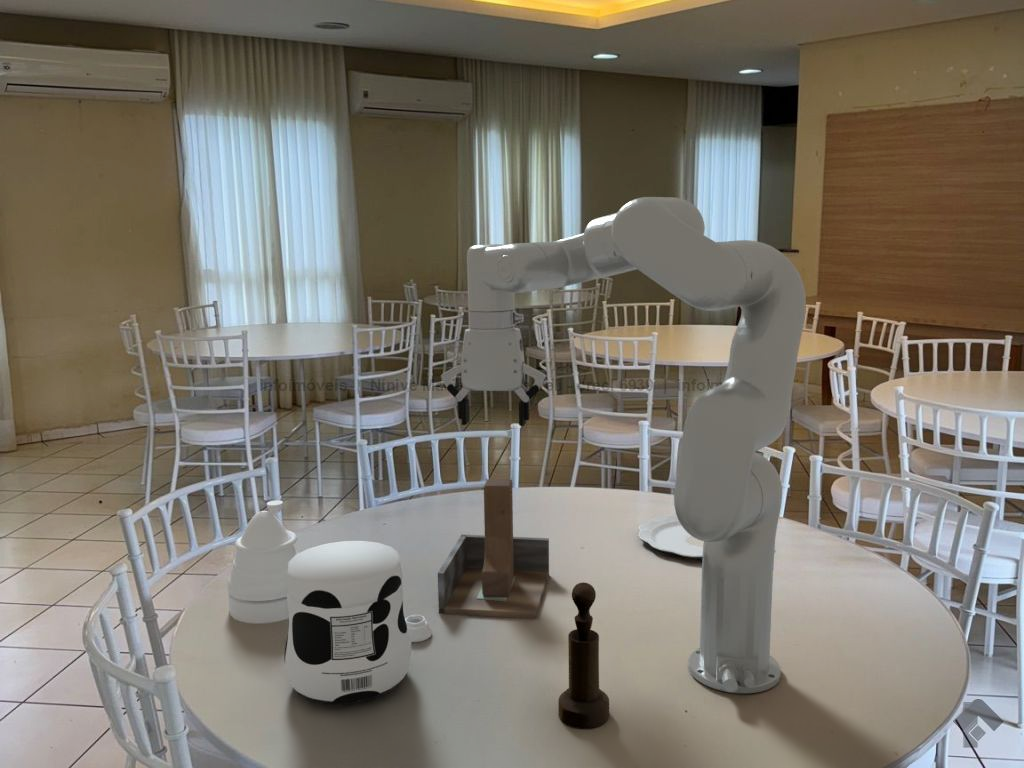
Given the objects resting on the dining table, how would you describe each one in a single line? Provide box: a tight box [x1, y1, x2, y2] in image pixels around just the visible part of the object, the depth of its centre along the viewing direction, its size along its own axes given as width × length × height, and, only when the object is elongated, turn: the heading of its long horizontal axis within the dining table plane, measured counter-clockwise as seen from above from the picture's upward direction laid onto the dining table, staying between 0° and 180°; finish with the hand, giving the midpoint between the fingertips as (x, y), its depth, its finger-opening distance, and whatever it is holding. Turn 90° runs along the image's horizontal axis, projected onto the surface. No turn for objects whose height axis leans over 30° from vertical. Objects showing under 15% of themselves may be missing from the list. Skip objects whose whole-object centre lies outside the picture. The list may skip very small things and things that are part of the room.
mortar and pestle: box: [558, 581, 610, 730], centre depth 112 cm, size 7×6×18 cm
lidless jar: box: [405, 614, 433, 643], centre depth 137 cm, size 5×3×5 cm
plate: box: [638, 513, 703, 560], centre depth 175 cm, size 25×25×2 cm
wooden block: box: [482, 478, 514, 597], centre depth 150 cm, size 9×4×18 cm, turn 174°
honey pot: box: [227, 500, 299, 625], centre depth 147 cm, size 13×13×18 cm
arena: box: [437, 534, 550, 620], centre depth 151 cm, size 18×16×7 cm
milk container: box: [283, 540, 412, 705], centre depth 122 cm, size 17×17×18 cm
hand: (494, 423), depth 146 cm, fingers open, 9 cm apart
